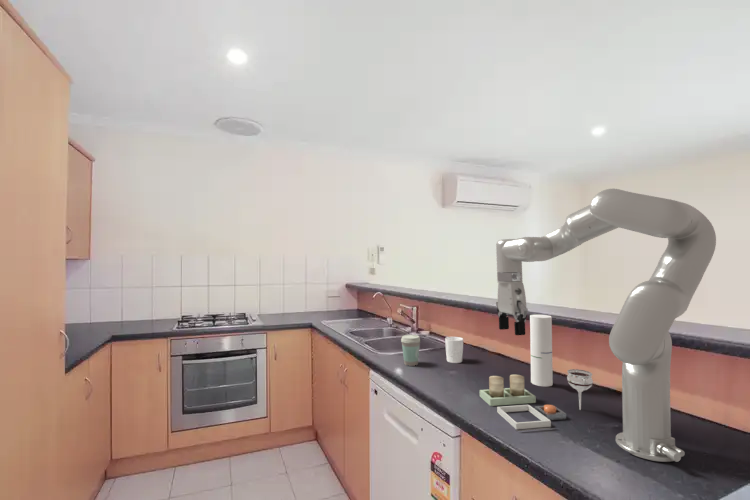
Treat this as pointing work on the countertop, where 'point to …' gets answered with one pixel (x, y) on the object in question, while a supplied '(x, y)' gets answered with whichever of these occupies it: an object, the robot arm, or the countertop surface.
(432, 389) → the countertop surface
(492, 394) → the cylinder
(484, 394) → the pale green flat tray
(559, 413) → the button housing
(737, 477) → the countertop surface
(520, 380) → the cylinder
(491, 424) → the countertop surface
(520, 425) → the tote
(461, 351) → the white cup
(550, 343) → the cylindrical container
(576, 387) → the wineglass
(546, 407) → the button
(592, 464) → the countertop surface
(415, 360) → the coffee cup
